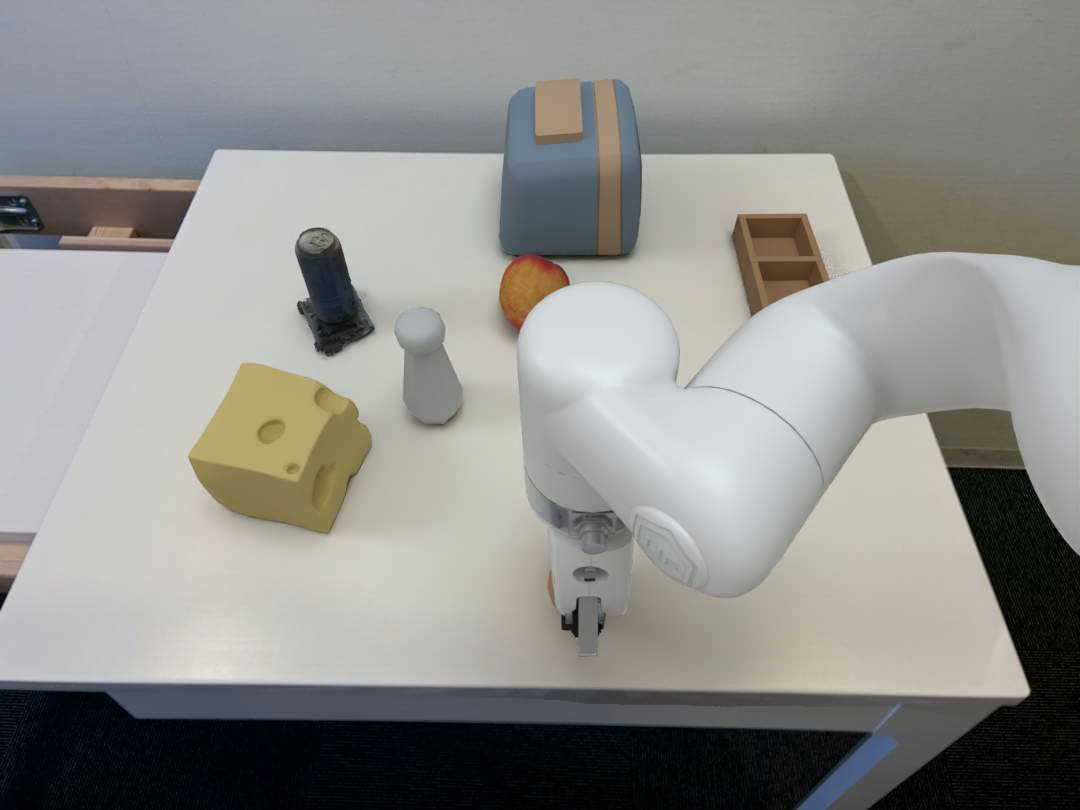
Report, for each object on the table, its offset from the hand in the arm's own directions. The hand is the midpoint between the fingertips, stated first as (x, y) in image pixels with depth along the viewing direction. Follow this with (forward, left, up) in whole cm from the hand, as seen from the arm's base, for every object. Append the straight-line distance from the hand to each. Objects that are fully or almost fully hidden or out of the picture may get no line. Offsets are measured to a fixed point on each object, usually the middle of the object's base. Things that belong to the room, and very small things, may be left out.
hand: (580, 588), depth 55 cm
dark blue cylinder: (+32, +25, -4) cm, 41 cm away
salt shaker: (+20, +13, -4) cm, 25 cm away
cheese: (+12, +25, -4) cm, 29 cm away
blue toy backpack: (+49, -1, -4) cm, 50 cm away
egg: (0, 0, -3) cm, 3 cm away
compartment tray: (+34, -25, -4) cm, 42 cm away
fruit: (+32, +3, -4) cm, 33 cm away
